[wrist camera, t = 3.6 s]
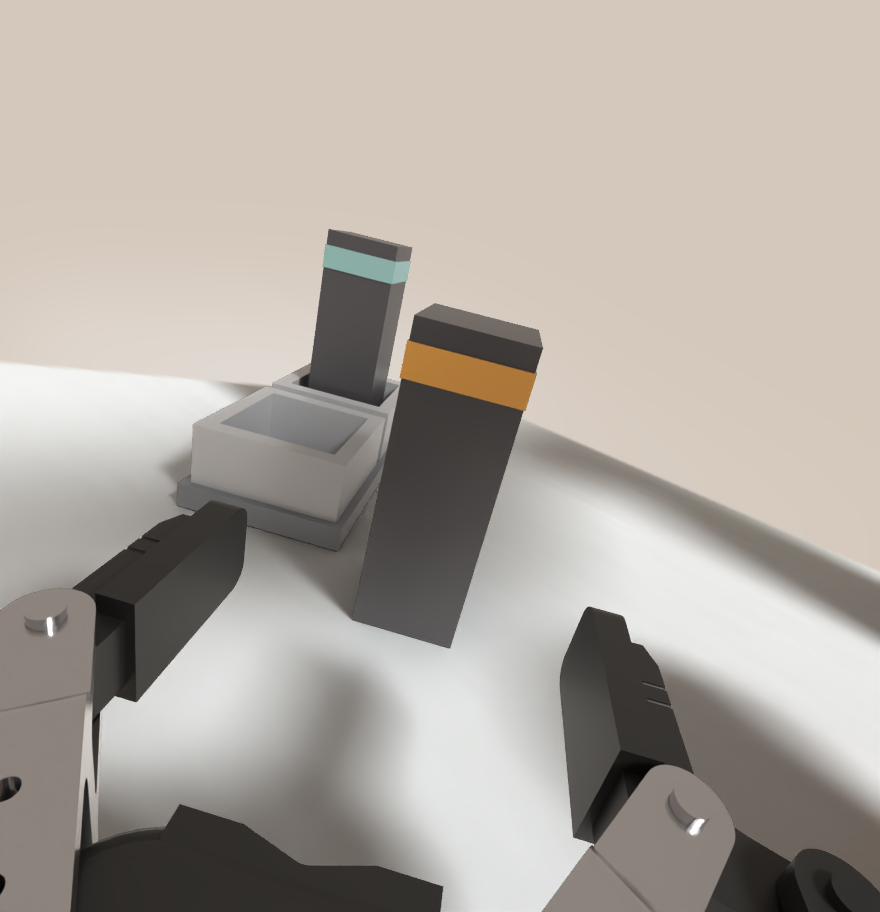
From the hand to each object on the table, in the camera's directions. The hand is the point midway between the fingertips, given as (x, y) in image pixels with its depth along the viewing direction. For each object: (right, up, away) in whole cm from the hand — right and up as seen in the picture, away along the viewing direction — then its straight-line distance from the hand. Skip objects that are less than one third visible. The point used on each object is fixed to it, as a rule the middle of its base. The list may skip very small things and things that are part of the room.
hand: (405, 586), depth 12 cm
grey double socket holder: (-7, +3, +20) cm, 21 cm away
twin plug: (-6, +5, +23) cm, 24 cm away
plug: (0, -3, +10) cm, 11 cm away
